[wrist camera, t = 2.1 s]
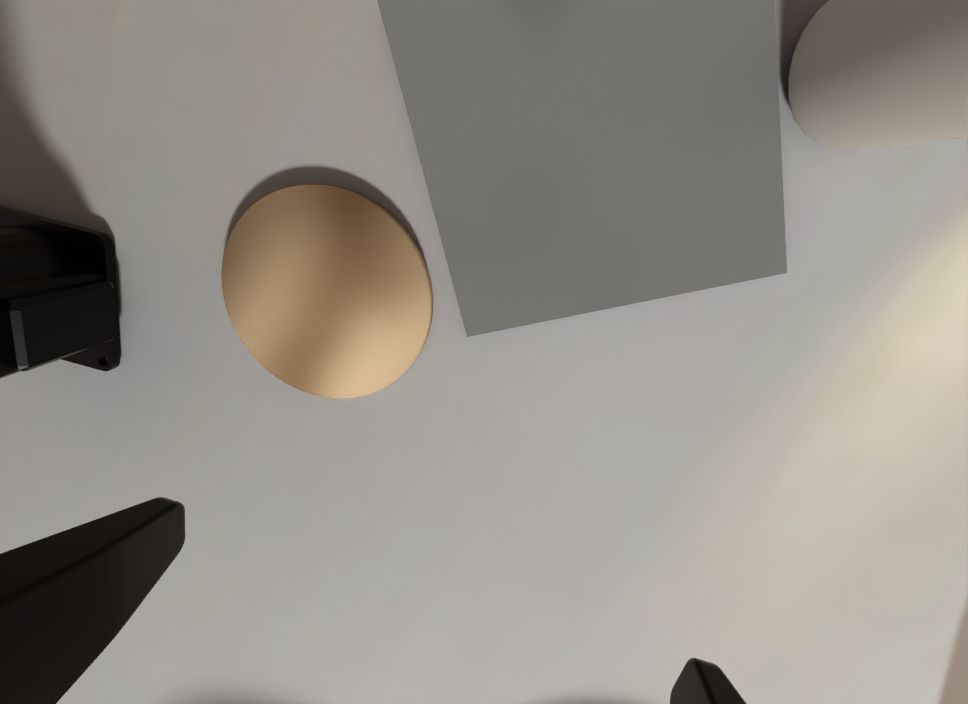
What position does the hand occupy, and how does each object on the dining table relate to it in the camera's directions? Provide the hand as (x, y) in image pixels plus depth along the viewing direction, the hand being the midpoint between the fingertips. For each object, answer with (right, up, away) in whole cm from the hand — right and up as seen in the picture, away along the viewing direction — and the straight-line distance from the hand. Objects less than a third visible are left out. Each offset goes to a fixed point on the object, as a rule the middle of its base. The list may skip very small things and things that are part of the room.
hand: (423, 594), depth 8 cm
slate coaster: (+5, +12, +9) cm, 15 cm away
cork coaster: (-6, +7, +12) cm, 15 cm away
